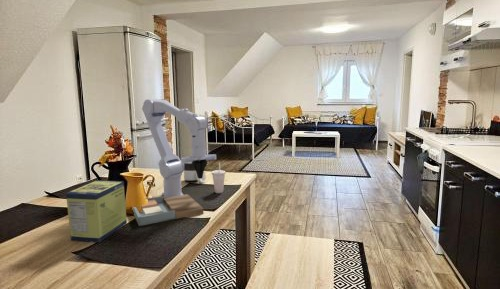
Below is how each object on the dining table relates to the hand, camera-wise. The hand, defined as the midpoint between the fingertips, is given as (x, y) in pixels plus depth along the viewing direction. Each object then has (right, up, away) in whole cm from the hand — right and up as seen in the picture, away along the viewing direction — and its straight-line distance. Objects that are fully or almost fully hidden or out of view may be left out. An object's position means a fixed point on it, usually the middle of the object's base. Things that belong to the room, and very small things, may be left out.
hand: (199, 178), depth 131 cm
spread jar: (-8, -6, +33) cm, 35 cm away
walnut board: (-6, -11, -5) cm, 14 cm away
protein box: (-29, -15, -26) cm, 42 cm away
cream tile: (-15, -13, -15) cm, 25 cm away
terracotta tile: (-19, -11, -7) cm, 23 cm away
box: (-17, -12, -11) cm, 23 cm away
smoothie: (+6, -8, +15) cm, 18 cm away
